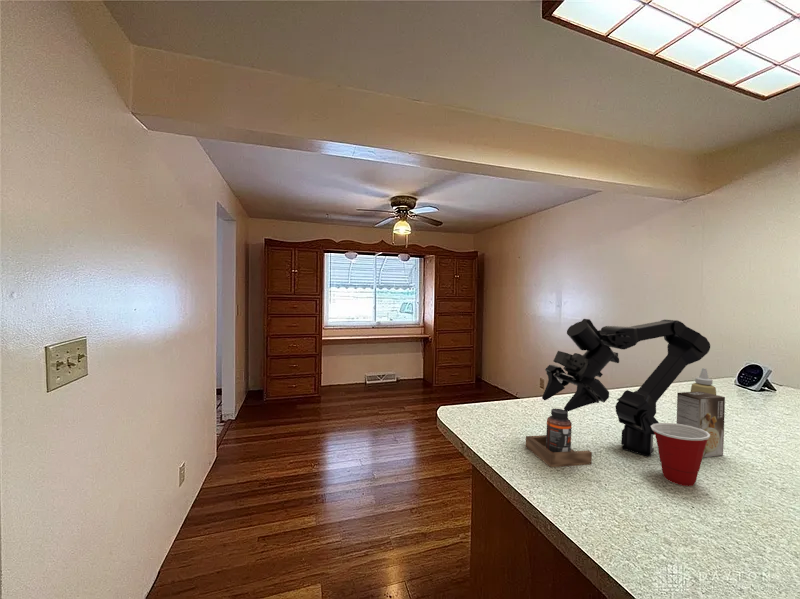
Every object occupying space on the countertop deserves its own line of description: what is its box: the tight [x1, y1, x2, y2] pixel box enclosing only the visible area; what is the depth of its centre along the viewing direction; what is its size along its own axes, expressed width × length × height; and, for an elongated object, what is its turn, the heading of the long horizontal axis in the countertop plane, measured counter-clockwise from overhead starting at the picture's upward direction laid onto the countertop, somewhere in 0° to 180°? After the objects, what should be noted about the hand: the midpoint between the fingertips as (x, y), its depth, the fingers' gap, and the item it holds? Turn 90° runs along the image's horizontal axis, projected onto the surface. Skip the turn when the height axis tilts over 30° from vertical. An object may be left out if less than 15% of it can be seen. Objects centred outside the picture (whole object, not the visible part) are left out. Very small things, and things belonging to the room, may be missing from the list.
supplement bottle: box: [545, 408, 573, 453], centre depth 91 cm, size 6×6×11 cm
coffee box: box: [676, 391, 726, 459], centre depth 96 cm, size 9×6×16 cm
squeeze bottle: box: [690, 367, 717, 395], centre depth 124 cm, size 8×8×18 cm
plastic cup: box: [651, 422, 710, 487], centre depth 81 cm, size 11×11×12 cm
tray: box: [525, 434, 593, 468], centre depth 91 cm, size 11×11×3 cm
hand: (553, 404), depth 91 cm, fingers open, 9 cm apart
